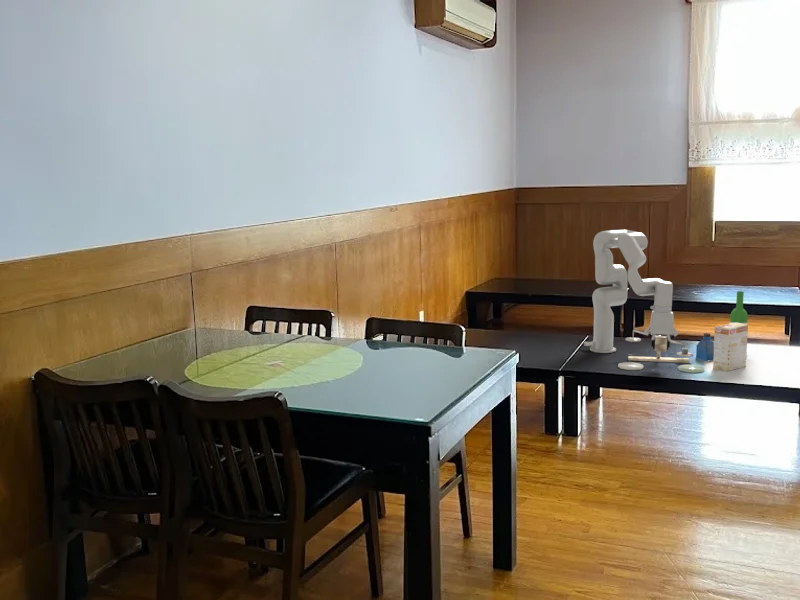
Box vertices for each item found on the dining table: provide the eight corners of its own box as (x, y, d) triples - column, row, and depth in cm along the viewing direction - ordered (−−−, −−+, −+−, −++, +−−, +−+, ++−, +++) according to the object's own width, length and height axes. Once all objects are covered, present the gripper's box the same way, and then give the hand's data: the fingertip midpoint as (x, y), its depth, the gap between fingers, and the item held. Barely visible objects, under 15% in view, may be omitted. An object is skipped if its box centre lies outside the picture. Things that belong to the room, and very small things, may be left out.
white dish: (618, 369, 359) (618, 367, 359) (617, 363, 370) (617, 361, 370) (643, 370, 357) (644, 368, 356) (642, 364, 367) (642, 362, 367)
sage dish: (679, 372, 353) (679, 370, 353) (677, 366, 364) (677, 364, 363) (705, 373, 350) (705, 371, 350) (702, 367, 361) (702, 365, 361)
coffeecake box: (732, 363, 367) (734, 322, 363) (746, 366, 361) (749, 324, 358) (711, 368, 359) (714, 325, 356) (725, 371, 353) (728, 328, 350)
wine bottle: (742, 351, 391) (746, 290, 386) (748, 354, 383) (751, 292, 378) (726, 351, 392) (729, 290, 387) (731, 354, 384) (734, 292, 379)
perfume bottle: (705, 356, 381) (706, 332, 379) (715, 359, 375) (717, 334, 374) (696, 358, 378) (697, 333, 376) (706, 360, 373) (707, 335, 371)
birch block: (654, 351, 358) (655, 338, 356) (654, 348, 362) (654, 335, 361) (666, 351, 356) (667, 338, 355) (665, 349, 361) (666, 336, 360)
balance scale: (625, 361, 375) (625, 330, 372) (624, 357, 381) (625, 327, 379) (693, 363, 368) (694, 332, 365) (691, 360, 374) (692, 329, 372)
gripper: (643, 309, 354) (640, 349, 358) (683, 311, 350) (681, 351, 354) (642, 306, 361) (640, 345, 365) (681, 308, 357) (679, 347, 361)
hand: (660, 348), depth 359 cm, fingers closed on birch block, 5 cm apart
